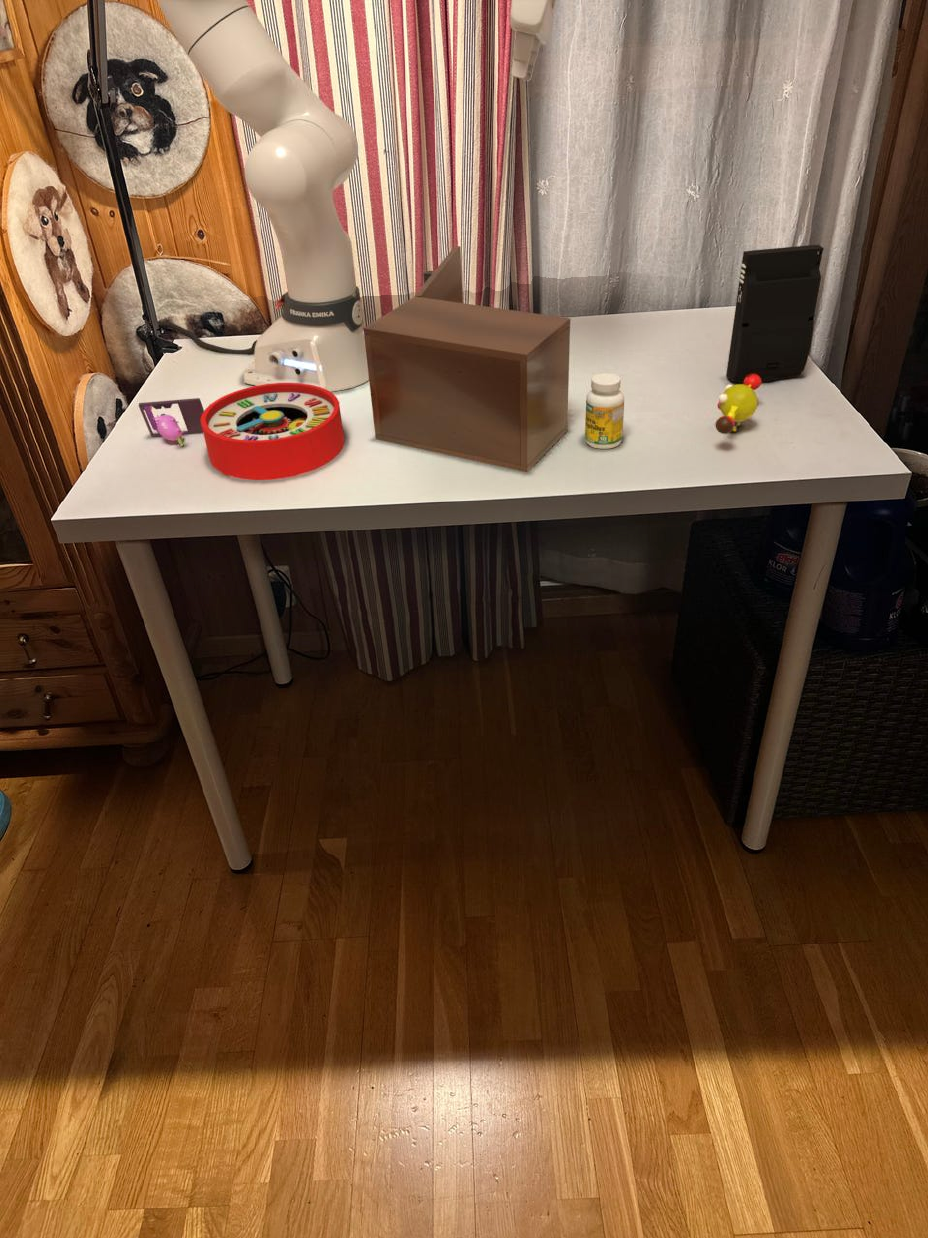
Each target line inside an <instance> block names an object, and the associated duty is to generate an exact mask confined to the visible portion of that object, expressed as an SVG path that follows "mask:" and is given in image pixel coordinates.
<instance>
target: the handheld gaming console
mask: <svg viewBox="0 0 928 1238" xmlns="http://www.w3.org/2000/svg"><path fill="white" fill-rule="evenodd" d="M823 252H824V247H823V246H821V245H820V244H809V245H799V246H797V245H795V246H787V247H774V248H763V249H754V250H753V249H752V250H745V251H743V253H742V260H741V267H740V273H739V280H738V288H737V296H736V302H735V309H734V316H733V323H732V331H731V337H730V345H729V351H728V358H727V359H728V360H727V366H726V373H725V377H726V378H727V379H728V380H729V381H731V382H734V383H739V384H744V380H745V377H746V376H747V375H749V374H757V375H759V376H760V377H761V380H762V382H761V383H771V382H775V381H778V380H779V381H780V380H788V379H791V378H794V377H797V376H800V375H801V374H802V373H803V372H804V371H805V369H806V365H807V363H808V360H809V355H810V352H811V347H812V342H813V334H814V324H815V320H814V318H815V317H816V315H815V313H816V308H817V303H818V299H819V298H818V296H819V292H820V287H821V281H822V274H821V270H820V267H821V263H822V257H823Z"/></svg>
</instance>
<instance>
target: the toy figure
mask: <svg viewBox="0 0 928 1238" xmlns="http://www.w3.org/2000/svg"><path fill="white" fill-rule="evenodd" d="M762 383H763V382H762V380H761V377H760V376H759V375H757V374H749V375H747V376H746V377H745V380H744V383H738V384H737V383H736V384H726V386H725V388H724V391H723V393H721V394H719V396H718V402H717V406H716V407H717V409H718V410H719V411H721V414H722V415H723V416H720V417H719V418H718V419H717V420H716V422H715V429H716V430H717V432H718V433H720V434H722V435H723V434H724V435H727V434H730V433H735V434H736V433H737V429H738V428H740V426H741V422H744V421H746V420H748V419H750V418H751V417H752V416H753V415H754V413H755V412H756V410H757V409H758V403H759V402H758V401H759V400H758V395H757V393H756V392H755V391H756V390H757V389H759V388H760V386H761V385H762Z"/></svg>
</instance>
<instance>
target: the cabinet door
mask: <svg viewBox="0 0 928 1238" xmlns="http://www.w3.org/2000/svg"><path fill="white" fill-rule="evenodd" d="M422 272H423V273H422V275H423V276H422V277H423V284H422V286H421V287H420V288H419V290H417V292H416V293H415V294H414V297H415V296H416V297H423V298H430V299H437V300H444V301H451V302H458V303H464V296H463V295H464V294H463V273H462V272H463V270H462V252H461V246H460V245H454V246H453V247H452V249H451V250H450V251H449V253H448V254H447V255H446V257H444V258H443V260H442V261H441V263H440V264H439V265H438V266H437V268H436V269H435V270H425V271H422Z"/></svg>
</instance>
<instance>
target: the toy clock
mask: <svg viewBox="0 0 928 1238" xmlns="http://www.w3.org/2000/svg"><path fill="white" fill-rule="evenodd" d="M201 425H202V429H203V433H202V434H203V437H204V441H205V446H206V451H207V455H208V459H209V463H210V464H211V466H212V467H213V469H215V471H217V472H219V473H221V474H222V475H225V476H228V477H232V478H237V479H240V480H241V479H243V480H249V481H272V480H281V479H282V480H283V479H287V478H293V477H296V476H300V475H304V474H306V473H310V472H312V471H315V470H317V469H319V468H322V467H323V466H325V465H327V464H328V463H331V461H333V460H334V459H335V458H336V457H337V456H338V455H340V453H341V451H342V450H343V448H344V446H345V435H344V428H343V421H342V413H341V407H340V401H339V399H338V397H337V396H336V395H335V394H334V393H333V392H330V391H328V390H326V389H324V388H321V387H318V386H314V385H309V384H302V383H273V384H264V385H258V386H255V385H252V386H249V387H245V388H242V389H238V390H235V391H233V392H230V393H228V394H225V395H223V396H221V397H219V398H218V399H216V400H215V401H213V402H212V403H210V404H209V405H208V406H207V407H206V408H205V409H204V412H203V414H202V416H201Z"/></svg>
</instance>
